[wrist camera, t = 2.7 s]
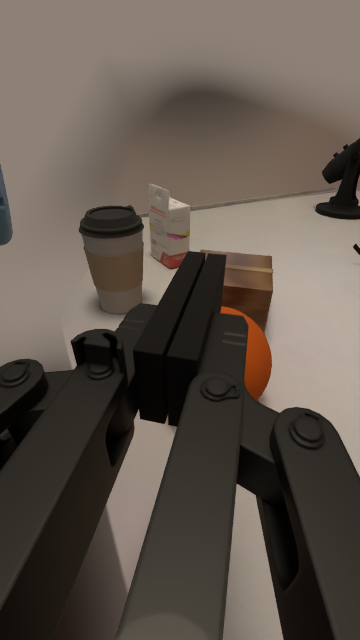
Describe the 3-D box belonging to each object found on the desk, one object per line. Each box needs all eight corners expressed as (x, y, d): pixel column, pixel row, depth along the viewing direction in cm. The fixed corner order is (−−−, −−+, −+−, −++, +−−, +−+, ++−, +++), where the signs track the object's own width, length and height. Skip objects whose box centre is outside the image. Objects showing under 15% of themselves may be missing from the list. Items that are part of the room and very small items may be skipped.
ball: (143, 418, 31) (135, 334, 25) (184, 353, 39) (186, 278, 33) (249, 458, 27) (270, 373, 21) (269, 378, 36) (289, 299, 29)
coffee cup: (99, 323, 45) (80, 222, 36) (88, 295, 51) (71, 204, 43) (156, 310, 48) (151, 214, 39) (139, 285, 54) (132, 198, 46)
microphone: (367, 223, 85) (406, 117, 71) (306, 213, 93) (329, 116, 79) (375, 211, 95) (410, 116, 81) (319, 203, 103) (341, 115, 89)
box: (184, 329, 44) (185, 279, 39) (198, 292, 52) (200, 248, 48) (263, 341, 41) (274, 290, 37) (263, 300, 50) (272, 255, 46)
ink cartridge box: (190, 264, 62) (192, 188, 54) (169, 269, 60) (168, 191, 51) (169, 250, 68) (168, 180, 59) (150, 255, 66) (146, 182, 57)
